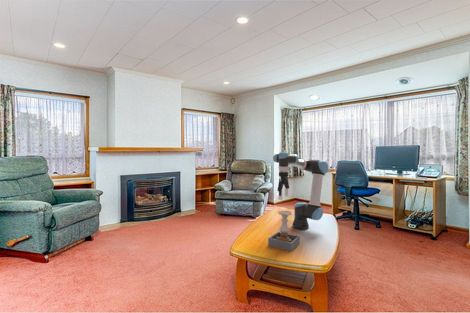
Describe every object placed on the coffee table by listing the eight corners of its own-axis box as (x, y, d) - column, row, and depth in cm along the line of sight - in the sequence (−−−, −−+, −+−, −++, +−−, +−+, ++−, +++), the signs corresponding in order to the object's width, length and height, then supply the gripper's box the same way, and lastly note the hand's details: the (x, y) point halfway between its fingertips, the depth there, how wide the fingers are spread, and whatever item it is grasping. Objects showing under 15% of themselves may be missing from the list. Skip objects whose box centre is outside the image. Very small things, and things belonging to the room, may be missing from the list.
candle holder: (279, 246, 188) (280, 214, 188) (274, 240, 199) (275, 210, 198) (293, 245, 190) (294, 213, 190) (288, 240, 201) (288, 210, 200)
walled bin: (277, 238, 207) (277, 231, 207) (299, 243, 197) (299, 236, 197) (268, 245, 192) (268, 238, 192) (291, 251, 182) (291, 243, 182)
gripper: (284, 169, 214) (284, 194, 216) (273, 172, 193) (273, 200, 194) (293, 170, 211) (292, 195, 212) (282, 173, 189) (282, 201, 190)
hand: (283, 197), depth 203 cm, fingers open, 13 cm apart
